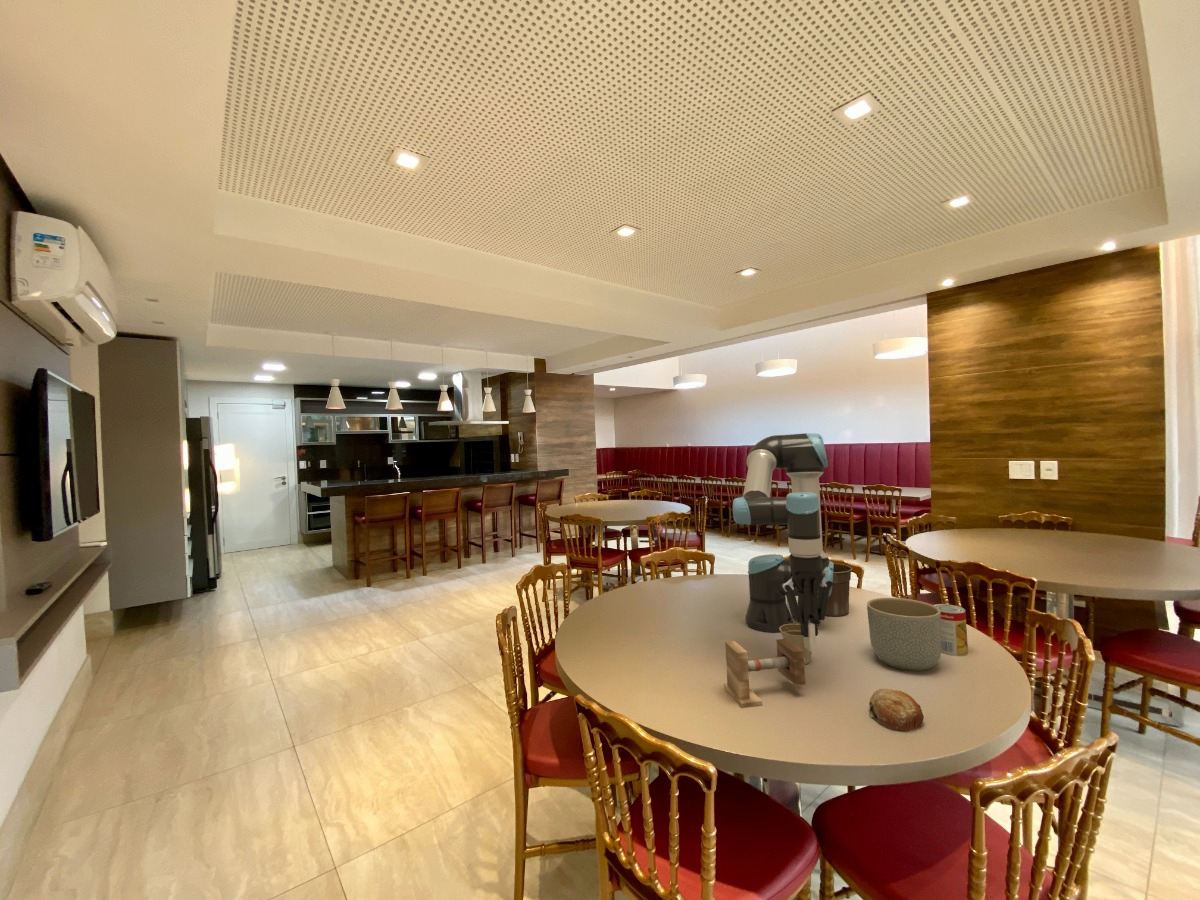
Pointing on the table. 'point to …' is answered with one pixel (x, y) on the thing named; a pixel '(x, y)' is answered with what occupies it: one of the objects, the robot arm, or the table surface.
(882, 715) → the bread roll
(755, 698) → the rail stand
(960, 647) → the canned food
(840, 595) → the plant pot
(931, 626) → the planter
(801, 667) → the collar
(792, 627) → the flower pot
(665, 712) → the table surface
